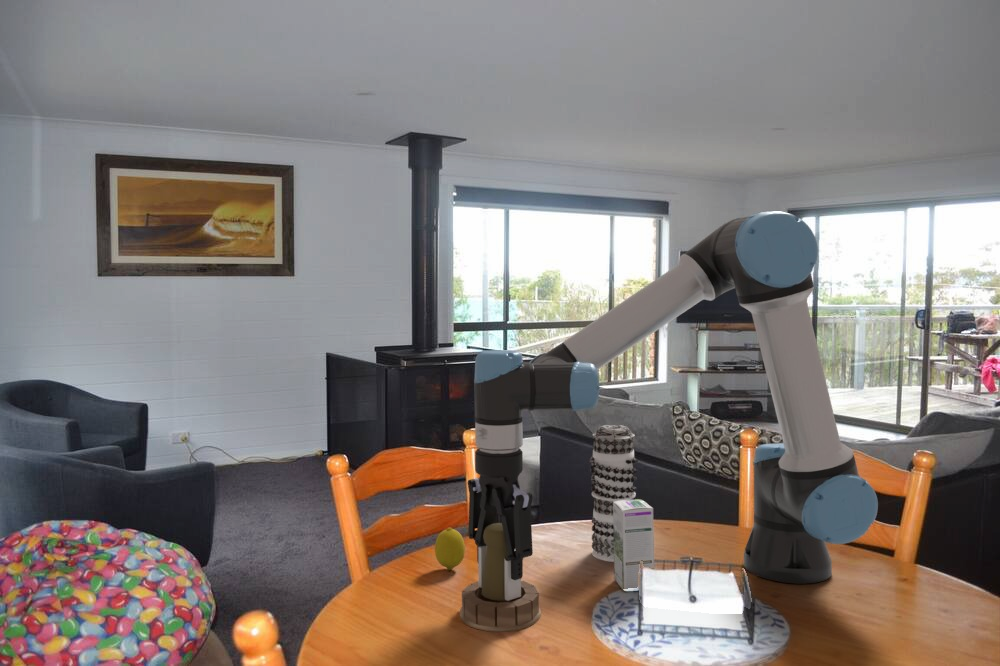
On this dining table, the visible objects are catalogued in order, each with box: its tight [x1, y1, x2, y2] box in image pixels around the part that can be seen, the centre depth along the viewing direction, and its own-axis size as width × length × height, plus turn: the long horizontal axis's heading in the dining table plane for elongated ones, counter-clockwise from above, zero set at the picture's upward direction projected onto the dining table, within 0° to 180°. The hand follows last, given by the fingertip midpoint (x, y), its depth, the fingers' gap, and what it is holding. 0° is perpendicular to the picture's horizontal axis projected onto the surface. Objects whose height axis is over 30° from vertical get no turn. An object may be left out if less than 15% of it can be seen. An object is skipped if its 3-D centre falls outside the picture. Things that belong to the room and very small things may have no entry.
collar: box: [459, 580, 542, 633], centre depth 124 cm, size 13×13×4 cm
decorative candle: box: [589, 424, 639, 563], centre depth 150 cm, size 9×9×25 cm
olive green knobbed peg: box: [481, 522, 508, 600], centre depth 124 cm, size 6×6×11 cm
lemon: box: [434, 527, 466, 571], centre depth 144 cm, size 6×6×8 cm
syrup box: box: [613, 498, 655, 590], centre depth 135 cm, size 6×6×14 cm
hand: (499, 591), depth 124 cm, fingers closed on olive green knobbed peg, 6 cm apart
